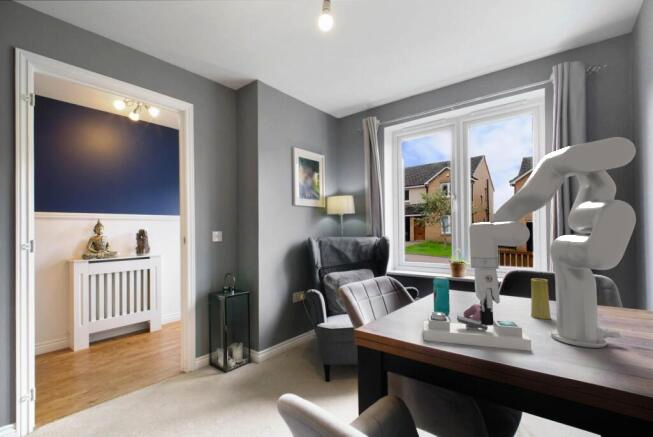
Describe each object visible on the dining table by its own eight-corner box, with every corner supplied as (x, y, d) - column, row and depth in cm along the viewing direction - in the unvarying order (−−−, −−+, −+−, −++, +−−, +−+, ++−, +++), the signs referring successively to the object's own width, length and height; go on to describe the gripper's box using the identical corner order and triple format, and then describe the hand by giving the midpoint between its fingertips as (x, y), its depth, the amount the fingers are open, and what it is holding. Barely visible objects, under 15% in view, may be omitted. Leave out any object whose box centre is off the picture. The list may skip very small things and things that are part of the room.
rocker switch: (484, 326, 91) (485, 322, 91) (487, 330, 87) (487, 326, 87) (456, 318, 93) (457, 315, 93) (458, 321, 90) (459, 318, 90)
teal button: (512, 330, 88) (512, 322, 89) (517, 334, 85) (516, 326, 85) (497, 329, 90) (497, 321, 90) (501, 333, 86) (501, 325, 86)
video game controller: (481, 328, 104) (490, 311, 104) (469, 322, 105) (478, 305, 105) (473, 320, 114) (481, 304, 114) (461, 314, 115) (470, 298, 114)
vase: (531, 313, 117) (529, 277, 117) (550, 316, 113) (549, 279, 114) (530, 317, 112) (529, 279, 113) (551, 320, 108) (549, 281, 109)
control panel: (519, 338, 90) (518, 320, 91) (531, 350, 81) (530, 330, 81) (423, 329, 99) (423, 313, 99) (424, 340, 89) (423, 321, 89)
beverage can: (432, 313, 118) (431, 276, 119) (447, 314, 117) (446, 276, 118) (435, 317, 112) (435, 278, 113) (451, 318, 112) (450, 278, 112)
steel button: (444, 320, 94) (444, 312, 94) (446, 323, 90) (445, 315, 90) (431, 319, 95) (431, 311, 95) (432, 322, 92) (432, 314, 92)
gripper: (505, 266, 81) (508, 333, 80) (492, 260, 96) (494, 318, 95) (475, 265, 84) (478, 331, 83) (466, 260, 98) (469, 316, 97)
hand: (486, 324), depth 89 cm, fingers closed
